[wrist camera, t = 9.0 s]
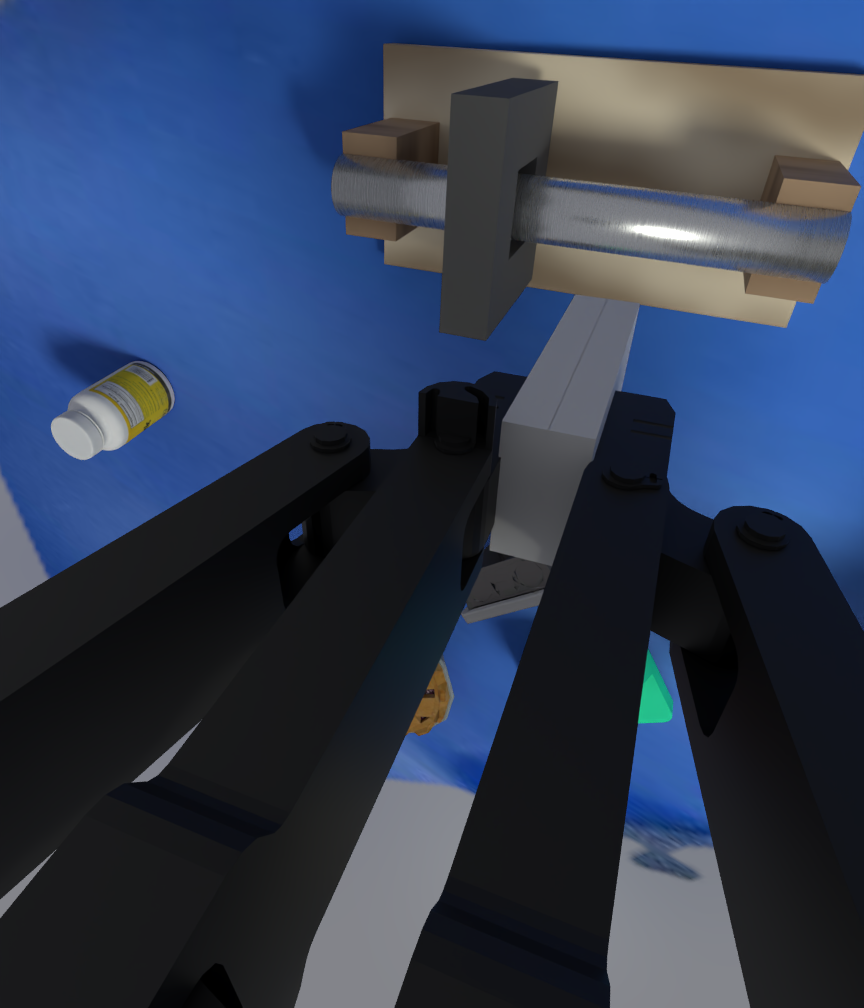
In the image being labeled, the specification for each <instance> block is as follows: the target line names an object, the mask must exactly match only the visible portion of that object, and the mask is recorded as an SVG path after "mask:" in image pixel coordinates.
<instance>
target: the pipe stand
mask: <svg viewBox="0 0 864 1008" xmlns="http://www.w3.org/2000/svg"><path fill="white" fill-rule="evenodd" d="M383 65H384V120H381V121H378V122H374V123H371V124H367V125H364V126H360V127H357V128H353V129H350V130H346V131H343V132H342V140H343V154H350V155H359V156H368V157H377V158H385V159H394V160H407V161H416V162H424V163H433V164H442V165H448V147H449V127H450V107H451V94H452V93H456V92H459V91H463V90H467V89H471V88H475V87H479V86H483V85H486V84H490V83H494V82H498V81H502V80H506V79H510V78H523V79H536V80H549V81H559V82H558V89H557V97H556V104H555V112H554V119H553V127H552V134H551V141H550V149H549V156H548V164H547V171H546V176H547V177H555V178H564V179H573V180H582V181H590V182H599V183H608V184H616V185H625V186H634V187H643V188H651V189H660V190H669V191H678V192H686V193H695V194H704V195H712V196H721V197H730V198H739V199H747V200H756V201H765V202H774V203H777V204H786V205H795V206H803V207H812V208H821V209H830V210H838V211H847V212H851V210H852V208H853V205H854V203H855V200H856V198H857V195H858V193H859V191H860V188H861V186H860V184H859V183H858V182H857V181H856V180H855V178H854V177H853V176H852V175H851V174H850V173H849V171H848V169H849V166H850V164H851V161H852V159H853V156H854V154H855V151H856V149H857V146H858V143H859V141H860V138H861V136H862V133H863V131H864V74H850V73H835V72H820V71H805V70H790V69H775V68H760V67H745V66H730V65H715V64H700V63H685V62H670V61H655V60H640V59H625V58H610V57H595V56H580V55H564V54H549V53H534V52H519V51H504V50H489V49H474V48H459V47H444V46H429V45H414V44H399V43H388V44H383ZM345 217H346V234H348V235H355V236H362V237H368V238H375V239H382V240H384V264H388V265H394V266H400V267H407V268H413V269H419V270H425V271H432V272H438V273H442V268H443V248H444V230H440V229H433V228H426V227H419V226H411V225H404V224H397V223H390V222H383V221H376V220H369V219H362V218H355V217H348V216H345ZM820 286H821V283H815V282H808V281H801V280H794V279H787V278H780V277H773V276H766V275H759V274H752V273H744V272H737V271H730V270H723V269H716V268H709V267H702V266H695V265H688V264H681V263H674V262H667V261H659V260H652V259H645V258H638V257H631V256H624V255H617V254H610V253H603V252H596V251H589V250H582V249H574V248H567V247H560V246H553V245H546V244H539V243H537V245H536V253H535V260H534V268H533V275H532V280H531V281H530V282H529V284H528V285H527V286H526V287H532V288H539V289H545V290H551V291H558V292H564V293H570V294H577V295H583V296H590V297H597V298H605V299H612V300H619V301H627V302H634V303H640V305H646V306H652V307H658V308H665V309H671V310H677V311H684V312H690V313H696V314H703V315H709V316H715V317H721V318H728V319H734V320H740V321H747V322H753V323H759V324H766V325H772V326H778V327H784V328H786V327H787V324H788V322H789V319H790V317H791V314H792V312H793V309H794V306H795V304H796V301H799V302H805V303H812V304H813V303H814V300H815V298H816V296H817V293H818V291H819V288H820Z"/></svg>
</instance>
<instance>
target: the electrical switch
mask: <svg viewBox="0 0 864 1008" xmlns="http://www.w3.org/2000/svg"><path fill="white" fill-rule="evenodd" d="M551 567H552V566H549V565H545V564H541V563H537V562H534V561H530V560H526V559H522V558H518V557H514V556H510V555H506V554H502V553H498V552H494V551H490V545H489V546H488V547H487V548H485V549H484V552H483V562H482V568H481V571H480V573H479V575H478V577H477V579H476V582H475V584H474V586H473V588H472V590H471V593H470V595H469V597H468V599H467V601H466V603H467V606H468V607H466V608H465V609H464V610H463V611H462V612H461V615H462V617H463V618H464V619H465V621H466V622H467V623H468V624H469V623H473V622H476V621H480V620H484V619H488V618H492V617H496V616H499V615H503V614H507V613H511V612H515V611H518V610H522V609H526V608H530V607H534V606H538V605H539V603H540V600H541V597H542V594H543V591H544V588H545V585H546V582H547V579H548V576H549V573H550V570H551Z"/></svg>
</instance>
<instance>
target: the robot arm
mask: <svg viewBox="0 0 864 1008" xmlns="http://www.w3.org/2000/svg"><path fill="white" fill-rule="evenodd" d="M639 306H640V303H634V302H627V301H619V300H612V299H605V298H597V297H590V296H583V295H575V296H574V298H573V300H572V301H571V303H570V305H569V306H568V308H567V310H566V312H565V313H564V315H563V317H562V319H561V320H560V322H559V324H558V325H557V327H556V329H555V331H554V332H553V334H552V336H551V337H550V339H549V341H548V343H547V344H546V346H545V348H544V350H543V351H542V353H541V355H540V356H539V358H538V360H537V362H536V363H535V365H534V367H533V368H532V370H531V372H530V374H529V375H528V377H524V376H518V375H513V374H507V373H501V372H495V371H494V372H492V373H490V374H488V375H486V376H484V377H482V378H480V379H478V380H477V382H476V383H475V384H472V383H468V382H457V381H451V382H440V383H436V384H433V385H430V386H427V387H425V388H424V389H422V390H421V391H420V392H419V411H418V437H417V438H416V439H415V441H414V442H413V443H412V444H411V446H410V447H409V448H408V449H397V450H387V449H370V438H369V436H368V435H367V433H366V431H364V430H363V429H361V428H359V427H357V426H355V425H351V424H347V423H343V422H326V423H322V424H316V425H313V426H310V427H308V428H305V429H303V430H301V431H299V432H298V433H296V434H294V435H293V436H291V437H289V438H288V439H286V440H284V441H282V442H281V443H279V444H277V445H276V446H274V447H272V448H271V449H269V450H267V451H265V452H264V453H262V454H260V455H259V456H257V457H255V458H254V459H252V460H250V461H249V462H247V463H245V464H243V465H242V466H240V467H238V468H237V469H235V470H233V471H232V472H230V473H228V474H226V475H225V476H223V477H221V478H220V479H218V480H216V481H215V482H213V483H211V484H210V485H208V486H206V487H204V488H203V489H201V490H199V491H198V492H196V493H194V494H193V495H191V496H189V497H187V498H186V499H184V500H182V501H181V502H179V503H177V504H176V505H174V506H172V507H171V508H169V509H167V510H165V511H164V512H162V513H160V514H159V515H157V516H155V517H154V518H152V519H150V520H148V521H147V522H145V523H143V524H142V525H140V526H138V527H137V528H135V529H133V530H132V531H130V532H128V533H126V534H125V535H123V536H121V537H120V538H118V539H116V540H115V541H113V542H111V543H109V544H108V545H106V546H104V547H103V548H101V549H99V550H98V551H96V552H94V553H93V554H91V555H89V556H87V557H86V558H84V559H82V560H81V561H79V562H77V563H76V564H74V565H72V566H71V567H69V568H67V569H65V570H64V571H62V572H60V573H59V574H57V575H55V576H54V577H52V578H50V579H48V580H47V581H45V582H43V583H42V584H40V585H38V586H37V587H35V588H33V589H32V590H30V591H28V592H26V593H25V594H23V595H21V596H20V597H18V598H16V599H15V600H13V601H11V602H10V603H8V604H6V605H4V606H3V607H1V608H0V899H1V898H2V897H3V896H5V895H6V894H7V893H8V892H9V891H10V890H11V889H12V888H13V887H15V886H16V885H17V884H18V883H19V882H20V881H21V880H23V879H24V878H25V877H26V876H27V875H28V874H29V873H30V872H31V871H33V870H34V869H35V868H36V867H37V866H38V865H39V864H40V863H42V862H43V861H44V860H45V859H46V858H47V857H48V856H49V855H50V854H52V853H53V852H54V851H55V850H56V849H57V850H56V851H55V852H54V854H53V855H52V856H51V857H50V858H49V860H48V861H47V862H46V863H45V864H44V866H43V867H42V868H41V869H40V870H39V872H38V873H37V874H36V875H35V877H34V878H33V879H32V880H31V881H30V883H29V884H28V885H27V886H26V888H25V889H24V890H23V891H22V893H21V894H20V895H19V896H18V897H17V899H16V900H15V901H14V902H13V904H12V905H11V906H10V907H9V909H8V910H7V911H6V912H5V913H4V914H3V916H2V917H1V918H0V1008H294V1006H295V1003H296V1000H297V997H298V993H299V990H300V987H301V982H302V977H303V972H304V968H305V963H306V959H307V956H308V953H309V949H310V946H311V944H312V941H313V939H314V936H315V934H316V931H317V929H318V927H319V925H320V923H321V920H322V918H323V916H324V914H325V912H326V909H327V907H328V905H329V903H330V901H331V898H332V896H333V894H334V892H335V890H336V887H337V885H338V883H339V881H340V879H341V876H342V874H343V872H344V870H345V868H346V865H347V863H348V861H349V859H350V857H351V854H352V852H353V850H354V847H355V846H356V843H357V841H358V839H359V836H360V835H361V832H362V830H363V828H364V826H365V823H366V821H367V819H368V817H369V815H370V812H371V810H372V808H373V806H374V804H375V802H376V799H377V797H378V795H379V793H380V791H381V788H382V786H383V784H384V782H385V780H386V777H387V775H388V773H389V771H390V769H391V766H392V764H393V762H394V760H395V758H396V755H397V753H398V751H399V749H400V747H401V744H402V742H403V740H404V738H405V736H406V733H407V731H408V729H409V727H410V725H411V722H412V720H413V718H414V716H415V714H416V711H417V709H418V707H419V705H420V703H421V700H422V698H423V696H424V694H425V692H426V689H427V687H428V685H429V683H430V681H431V678H432V676H433V674H434V672H435V670H436V667H437V665H438V663H439V661H440V659H441V656H442V654H443V652H444V650H445V648H446V645H447V643H448V641H449V639H450V637H451V634H452V632H453V630H454V628H455V626H456V623H457V621H458V619H459V617H460V615H461V612H462V610H463V608H464V606H465V604H466V601H467V599H468V597H469V595H470V593H471V590H472V588H473V586H474V584H475V582H476V579H477V577H478V575H479V573H480V571H481V568H482V562H483V552H484V545H485V543H486V541H487V539H488V536H489V534H490V532H491V539H490V551H494V552H498V553H502V554H506V555H510V556H514V557H518V558H522V559H526V560H530V561H534V562H537V563H541V564H545V565H549V566H552V567H551V570H550V573H549V576H548V579H547V582H546V585H545V588H544V591H543V594H542V597H541V600H540V603H539V606H538V609H537V612H536V615H535V618H534V621H533V624H532V627H531V630H530V633H529V636H528V639H527V642H526V645H525V648H524V651H523V654H522V657H521V660H520V663H519V666H518V669H517V672H516V675H515V678H514V681H513V684H512V687H511V690H510V693H509V696H508V699H507V702H506V705H505V708H504V711H503V714H502V717H501V720H500V723H499V726H498V729H497V732H496V735H495V738H494V741H493V744H492V747H491V750H490V753H489V756H488V759H487V762H486V765H485V768H484V771H483V774H482V777H481V780H480V783H479V786H478V789H477V792H476V795H475V798H474V801H473V804H472V807H471V810H470V813H469V816H468V819H467V822H466V825H465V828H464V831H463V834H462V837H461V840H460V843H459V846H458V849H457V852H456V855H455V858H454V861H453V864H452V867H451V870H450V873H449V876H448V879H447V881H446V884H445V887H444V890H443V892H442V895H441V896H440V899H439V901H438V902H437V903H436V904H435V906H434V907H433V908H432V909H431V911H430V913H429V916H428V918H427V920H426V922H425V924H424V926H423V929H422V931H421V934H420V937H419V939H418V942H417V945H416V948H415V950H414V953H413V955H412V958H411V961H410V964H409V967H408V970H407V973H406V976H405V979H404V981H403V985H402V987H401V990H400V993H399V996H398V999H397V1002H396V1005H395V1008H610V983H609V979H608V974H607V953H608V943H609V936H610V928H611V921H612V913H613V906H614V899H615V891H616V884H617V876H618V869H619V860H620V854H621V846H622V839H623V831H624V824H625V816H626V809H627V801H628V794H629V786H630V779H631V771H632V764H633V756H634V749H635V742H636V734H637V727H638V719H639V712H640V704H641V697H642V689H643V682H644V674H645V667H646V659H647V652H648V644H649V637H650V630H651V631H653V632H654V633H656V634H658V635H660V636H662V637H664V638H666V639H668V640H669V641H670V657H671V661H672V666H673V670H674V675H675V679H676V683H677V688H678V692H679V697H680V701H681V705H682V710H683V714H684V719H685V723H686V727H687V732H688V736H689V740H690V745H691V749H692V754H693V758H694V762H695V767H696V771H697V776H698V780H699V784H700V789H701V793H702V798H703V802H704V806H705V811H706V815H707V819H708V824H709V828H710V833H711V837H712V841H713V846H714V850H715V854H716V859H717V863H718V868H719V872H720V877H721V880H722V885H723V890H724V894H725V898H726V903H727V906H728V911H729V916H730V920H731V925H732V929H733V934H734V938H735V942H736V947H737V951H738V955H739V960H740V964H741V968H742V973H743V977H744V981H745V986H746V991H747V995H748V999H749V1003H750V1008H864V631H863V630H862V628H861V626H860V624H859V622H858V621H857V619H856V617H855V615H854V613H853V612H852V610H851V608H850V606H849V604H848V603H847V601H846V599H845V597H844V596H843V594H842V592H841V590H840V588H839V587H838V585H837V583H836V581H835V579H834V578H833V576H832V574H831V572H830V570H829V569H828V567H827V565H826V563H825V561H824V560H823V558H822V556H821V554H820V552H819V551H818V549H817V547H816V545H815V543H814V542H813V540H812V538H811V537H810V536H809V534H808V533H807V532H806V531H805V530H804V529H803V528H802V526H800V525H799V524H797V523H796V522H794V521H793V520H791V519H790V518H788V517H786V516H784V515H782V514H780V513H778V512H774V511H772V510H769V509H766V508H759V507H753V506H733V507H730V508H727V509H724V510H721V511H720V512H719V513H718V514H717V516H716V517H715V518H714V520H713V519H711V518H709V517H706V516H704V515H701V514H699V513H697V512H695V511H693V510H691V509H689V508H687V507H686V506H685V505H683V504H682V503H680V502H679V501H678V500H677V499H676V498H675V497H674V496H673V495H672V494H671V493H670V491H669V483H668V479H667V471H668V463H669V456H670V449H671V442H672V434H673V427H674V420H675V412H674V410H673V409H672V407H671V406H670V404H669V403H668V401H667V400H666V399H662V398H656V397H650V396H644V395H639V394H633V393H627V392H621V389H622V385H623V380H624V376H625V371H626V366H627V362H628V357H629V352H630V348H631V343H632V339H633V334H634V329H635V325H636V320H637V315H638V311H639ZM301 523H302V529H303V534H302V535H301V536H299V537H298V538H297V539H295V540H293V541H290V539H289V532H290V531H291V530H293V529H294V528H295V527H297V526H298V525H299V524H301ZM200 721H201V722H200ZM199 722H200V723H199ZM198 723H199V724H198ZM196 724H198V726H197V727H196V728H195V730H194V731H193V732H192V734H191V735H190V736H189V738H188V739H187V740H186V742H185V743H184V744H183V746H182V747H181V748H180V749H179V751H178V752H177V753H176V755H175V756H174V757H173V759H172V760H171V761H170V763H169V764H168V765H167V766H166V767H165V768H164V769H163V770H162V772H161V773H160V774H159V775H158V776H156V777H154V778H153V779H151V780H149V781H148V782H134V783H131V782H132V781H134V780H135V779H136V778H137V777H138V776H139V775H140V774H141V773H143V772H144V771H145V770H146V769H147V768H148V767H149V766H150V765H152V763H154V762H155V761H156V760H157V759H158V758H159V757H161V756H162V754H164V753H165V752H166V751H167V750H168V749H169V748H170V747H172V746H173V745H174V744H175V743H176V742H177V741H178V740H179V739H181V738H182V737H183V736H184V735H185V734H186V733H187V732H188V731H190V730H191V729H192V728H193V727H194V726H195V725H196Z"/></svg>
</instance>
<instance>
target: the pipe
mask: <svg viewBox="0 0 864 1008" xmlns="http://www.w3.org/2000/svg"><path fill="white" fill-rule="evenodd" d="M447 167H448V165H442V164H433V163H424V162H416V161H407V160H394V159H385V158H377V157H368V156H359V155H350V154H341V155H340V156H339V157H338V159H337V161H336V163H335V166H334V169H333V173H332V182H331V192H332V200H333V204H334V207H335V209H336V211H337V213H338V214H339V215H341V216H348V217H355V218H362V219H369V220H376V221H383V222H390V223H397V224H404V225H411V226H419V227H426V228H433V229H440V230H444V228H445V208H446V187H447ZM851 219H852V215H851V212H847V211H838V210H830V209H821V208H812V207H803V206H795V205H786V204H777V203H774V202H765V201H756V200H747V199H739V198H730V197H721V196H712V195H704V194H695V193H686V192H678V191H669V190H660V189H651V188H643V187H634V186H625V185H616V184H608V183H599V182H590V181H582V180H573V179H564V178H555V177H547V176H538V175H529V174H520V173H518V178H517V187H516V196H515V205H514V214H513V223H512V232H511V240H518V241H525V242H532V243H539V244H546V245H553V246H560V247H567V248H574V249H582V250H589V251H596V252H603V253H610V254H617V255H624V256H631V257H638V258H645V259H652V260H659V261H667V262H674V263H681V264H688V265H695V266H702V267H709V268H716V269H723V270H730V271H737V272H744V273H752V274H759V275H766V276H773V277H780V278H787V279H794V280H801V281H808V282H815V283H822V284H825V283H826V282H827V281H828V280H829V279H830V277H831V276H832V274H833V272H834V270H835V268H836V267H837V264H838V262H839V260H840V258H841V255H842V253H843V250H844V247H845V244H846V241H847V238H848V235H849V231H850V226H851Z"/></svg>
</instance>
